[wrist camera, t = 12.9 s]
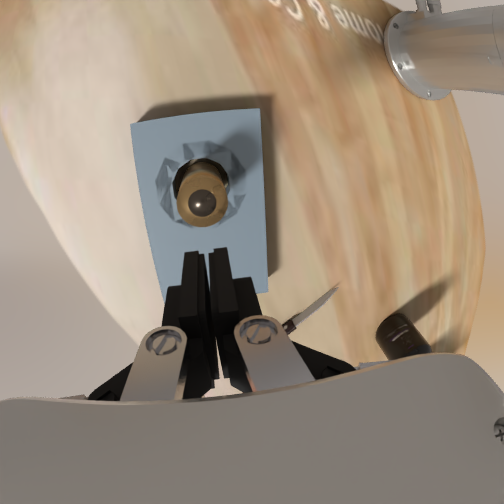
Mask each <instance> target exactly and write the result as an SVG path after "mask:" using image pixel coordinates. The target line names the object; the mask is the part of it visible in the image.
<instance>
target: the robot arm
mask: <svg viewBox="0 0 504 504" xmlns="http://www.w3.org/2000/svg"><path fill="white" fill-rule="evenodd" d="M416 4H417V7H418V10H416V12H414V11H404V12H400V13H398V14H396V15H394V16H393V17H392V18H390V19H389V21H388V23H387V24H386V28H385V31H384V47H385V52H386V56H387V59H388V61H389V64H390V67H391V68H392V70H393V72H394V74H395V76H396V77H397V78H398V80H399V81H400V82H401V84H402V85H403V86H404V87H405V88H406V89H407V90H408V91H410V92H411V93H412V94H414V95H416V96H417V97H419V98H422V99H426V100H440V99H442V98H445V97H446V96H447V95H448V94H449V93H450V92H451V90H464V91H476V92H485V93H493V94H501V95H504V5H498V6H488V7H479V8H472V9H466V10H460V11H454V12H449V13H444V14H442V12H441V3H440V0H427V5H428V7H429V11H430V12H429V11H427V8H426V0H416ZM213 250H214V252H212V253H208V257H209V278H210V287H209V281H208V275H207V268H206V262H205V255H204V254H199V251H190V252H185V253H184V260H183V269H182V279H181V285H176V286H169V287H168V288H167V294H166V300H165V307H164V313H163V320H162V327H158V328H155V329H153V330H151V331H150V332H148V333H147V334H146V335H145V336H144V338H143V339H142V341H141V344H140V346H139V349H138V352H137V354H136V357H135V359H134V362H133V363H131V364H130V365H129V366H127V367H126V368H125V369H123V370H122V371H120V372H119V373H118V374H116V375H115V376H113V377H112V378H111V379H109V380H108V381H107V382H105V383H104V384H102V385H101V386H99V387H98V388H97V389H95V390H94V391H93V392H92V393H91V394H90V395H89V397H86V396H85V395H78V396H71V397H64V398H44V397H17V398H9V399H5V400H2V401H0V504H504V393H503V392H502V391H501V389H500V388H499V387H498V385H497V384H496V383H495V382H494V381H493V379H492V378H491V377H490V376H489V375H488V374H487V373H486V372H485V371H484V370H483V369H482V368H481V367H480V366H479V365H478V364H477V363H475V362H474V361H473V360H471V359H470V358H468V357H466V356H464V355H461V354H456V353H448V352H445V353H427V354H419V355H413V356H409V357H404V358H400V359H397V360H389V361H380V362H369V363H359V366H358V367H353V366H352V365H350V364H348V363H347V362H345V361H342V360H339V359H337V358H334V357H331V356H329V355H326V354H323V353H321V352H318V351H316V350H313V349H311V348H308V347H306V346H303V345H301V344H298V343H296V342H293V341H291V340H290V338H289V337H288V335H287V333H286V332H285V330H284V328H283V327H282V325H281V324H280V323H279V322H278V321H277V320H276V319H274V318H272V317H269V316H263V315H262V312H261V309H260V305H259V302H258V298H257V295H256V291H255V288H254V284H253V281H252V278H251V277H243V278H235V279H233V278H232V272H231V267H230V261H229V255H228V250H227V247H223V248H215V249H213ZM216 340H217V346H218V351H219V356H220V361H221V366H222V370H223V375H224V378H230V383H231V386H233V387H235V388H237V389H238V390H240V391H242V392H243V393H242V394H234V395H226V396H217V397H207V398H205V396H204V394H205V393H207V392H208V391H209V390H210V389H212V388H215V386H214V380H215V379H219V368H218V357H217V346H216Z"/></svg>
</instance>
